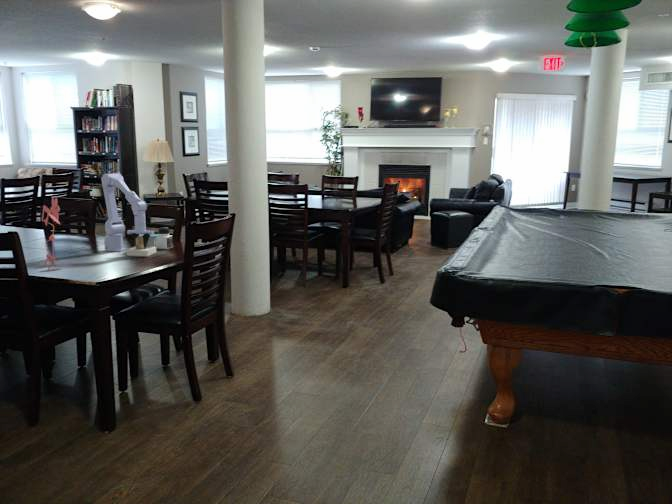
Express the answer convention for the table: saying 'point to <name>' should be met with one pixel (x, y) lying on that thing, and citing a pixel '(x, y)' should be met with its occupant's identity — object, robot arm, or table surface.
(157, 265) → the table surface
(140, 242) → the oak peg
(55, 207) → the figurine
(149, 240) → the awning
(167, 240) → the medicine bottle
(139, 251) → the socket block
